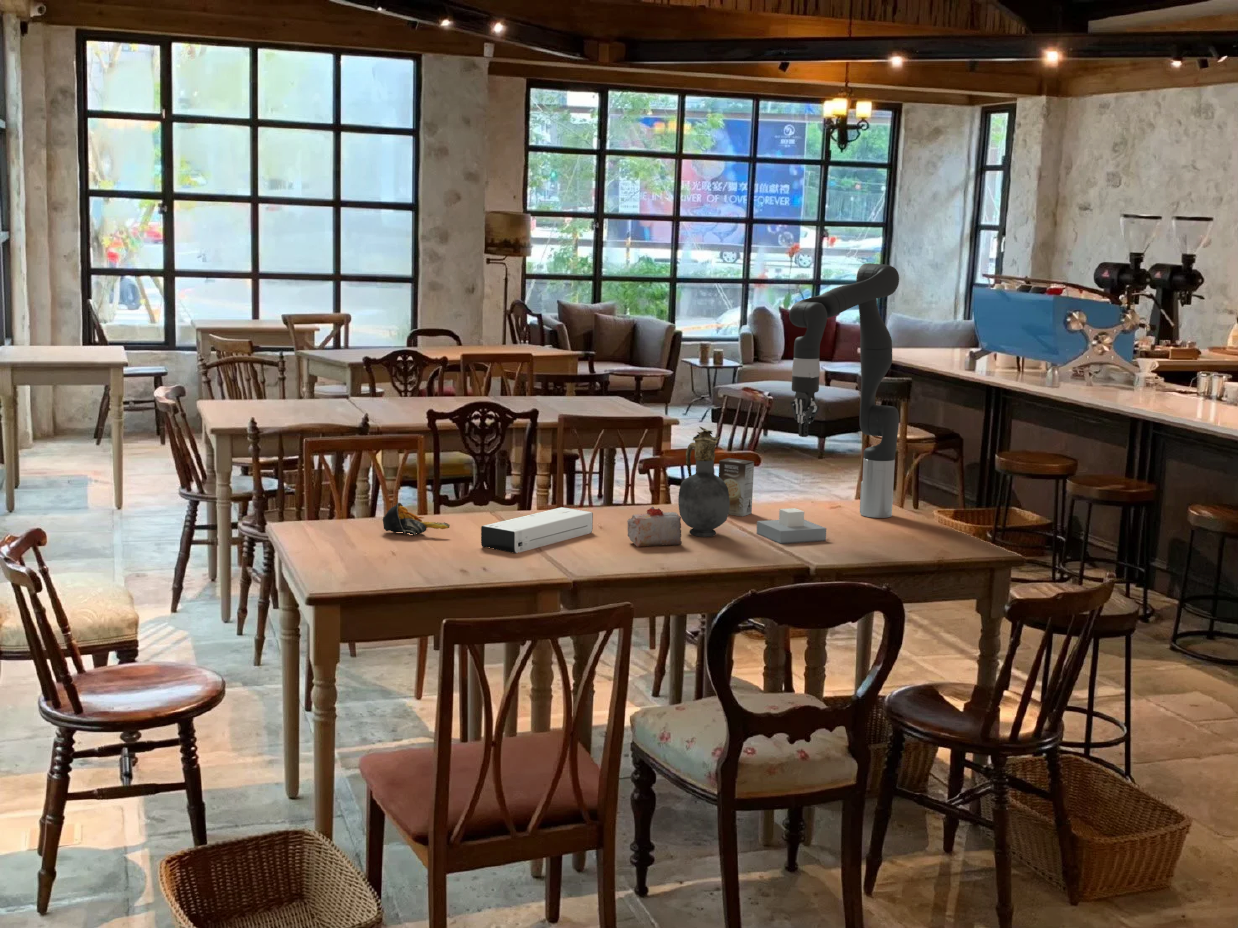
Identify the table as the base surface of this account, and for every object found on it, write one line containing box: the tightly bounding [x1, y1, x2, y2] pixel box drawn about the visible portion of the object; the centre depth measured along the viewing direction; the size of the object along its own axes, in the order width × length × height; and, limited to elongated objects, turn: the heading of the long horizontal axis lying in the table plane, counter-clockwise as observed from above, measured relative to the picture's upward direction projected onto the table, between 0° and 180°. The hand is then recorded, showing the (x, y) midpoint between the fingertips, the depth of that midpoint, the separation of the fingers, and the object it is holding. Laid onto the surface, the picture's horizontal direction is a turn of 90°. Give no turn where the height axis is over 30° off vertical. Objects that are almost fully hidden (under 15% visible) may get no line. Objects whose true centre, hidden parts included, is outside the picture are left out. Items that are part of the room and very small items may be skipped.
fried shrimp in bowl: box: [382, 502, 450, 536], centre depth 361 cm, size 9×11×18 cm
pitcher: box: [677, 426, 730, 538], centre depth 367 cm, size 11×19×30 cm, turn 22°
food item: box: [627, 506, 683, 548], centre depth 354 cm, size 14×8×10 cm, turn 107°
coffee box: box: [718, 457, 755, 517], centre depth 398 cm, size 9×6×16 cm
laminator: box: [480, 506, 594, 554], centre depth 356 cm, size 34×12×6 cm, turn 145°
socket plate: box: [756, 519, 827, 545], centre depth 366 cm, size 14×14×4 cm
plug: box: [778, 507, 805, 527], centre depth 366 cm, size 5×5×7 cm
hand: (803, 436), depth 370 cm, fingers closed
